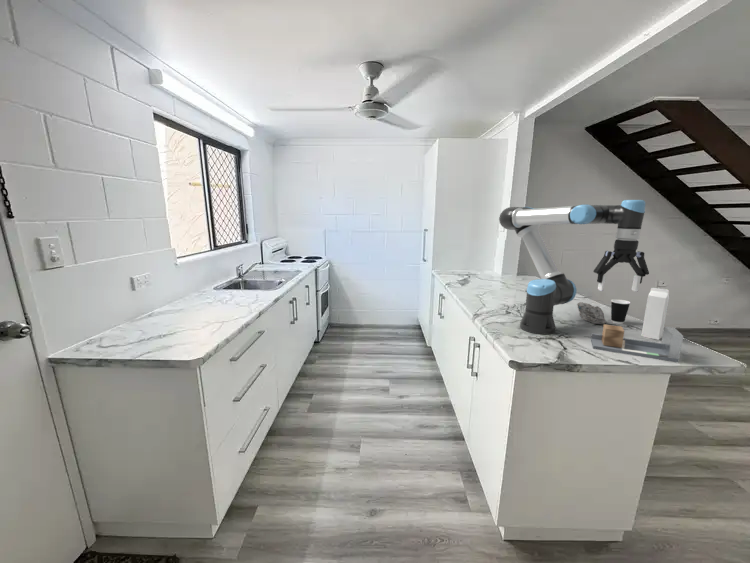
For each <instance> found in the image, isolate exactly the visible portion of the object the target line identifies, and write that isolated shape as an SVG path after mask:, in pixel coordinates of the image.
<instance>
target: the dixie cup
mask: <svg viewBox="0 0 750 563" xmlns="http://www.w3.org/2000/svg"><path fill="white" fill-rule="evenodd" d="M610 302H611V305H610V307H611V308H610V310H611V311H610V320H611V322H612V324H613V323H614V324H618V325H623V324H624V322H625V321H626V318H627V314H628V311H629V307H630V305H631V303H632V302H631V301H629V300H624V299H613V298H612V299H610Z"/></svg>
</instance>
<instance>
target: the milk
mask: <svg viewBox="0 0 750 563" xmlns="http://www.w3.org/2000/svg"><path fill="white" fill-rule="evenodd" d="M669 301H670V290H669V289H666V288H661V287H660V288H659V287H651V288H650V291H649V293H648V296H647V300H646V306H645V311H644V318H643V324H642V330H641V337H642V338H643V337H644V338H648V339H652V340H655V341H657V340H658V341H660V339H662V337H663V332H664V326H665V323H666V318H667V311H668V307H669V306H668V305H669Z"/></svg>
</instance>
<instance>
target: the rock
mask: <svg viewBox="0 0 750 563" xmlns="http://www.w3.org/2000/svg"><path fill="white" fill-rule="evenodd" d="M576 305H577V308H578V312H579V316H580V317H581V320H583V321H585V322H589V323H591V324H594V325H595V324H599V325H600V324H601V325H604V324H605V323H606V322H607V321H606V319H605V314H604V311H603V309H602V308H601V307H600V306H597V305H596V306H594V305H592V304H591V303H588V302H582V301H580V302H578V303H577V304H576Z"/></svg>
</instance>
